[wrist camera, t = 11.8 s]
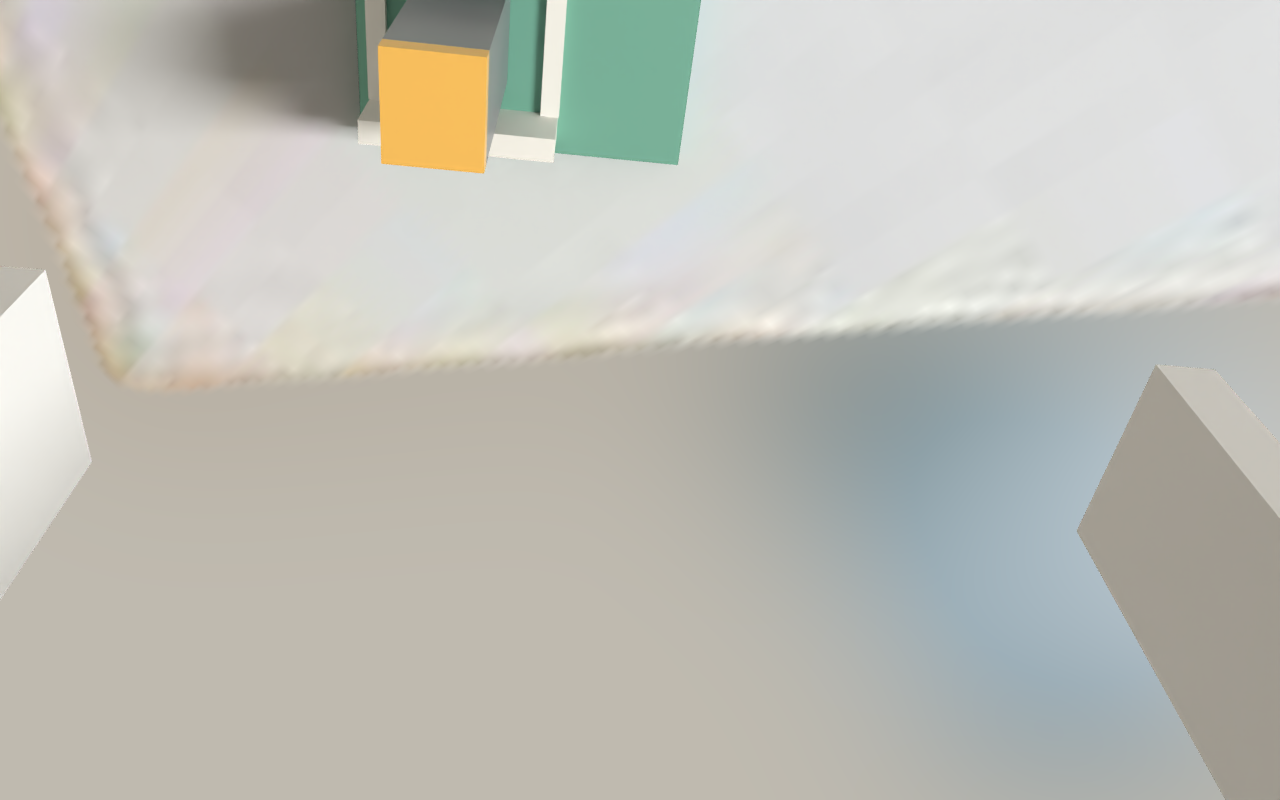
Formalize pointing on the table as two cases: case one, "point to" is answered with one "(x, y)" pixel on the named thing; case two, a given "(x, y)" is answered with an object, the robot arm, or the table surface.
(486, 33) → the plug
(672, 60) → the board
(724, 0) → the table surface
